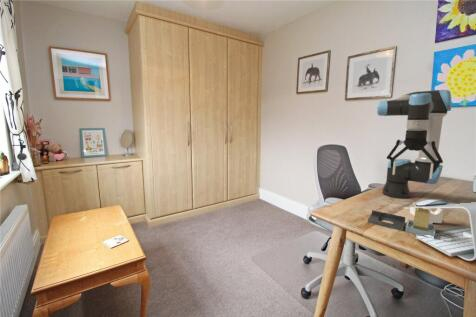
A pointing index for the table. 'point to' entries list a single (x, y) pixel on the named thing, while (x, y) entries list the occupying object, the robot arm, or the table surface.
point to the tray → (415, 231)
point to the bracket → (431, 215)
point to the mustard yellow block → (421, 219)
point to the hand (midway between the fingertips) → (411, 176)
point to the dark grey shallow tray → (397, 220)
